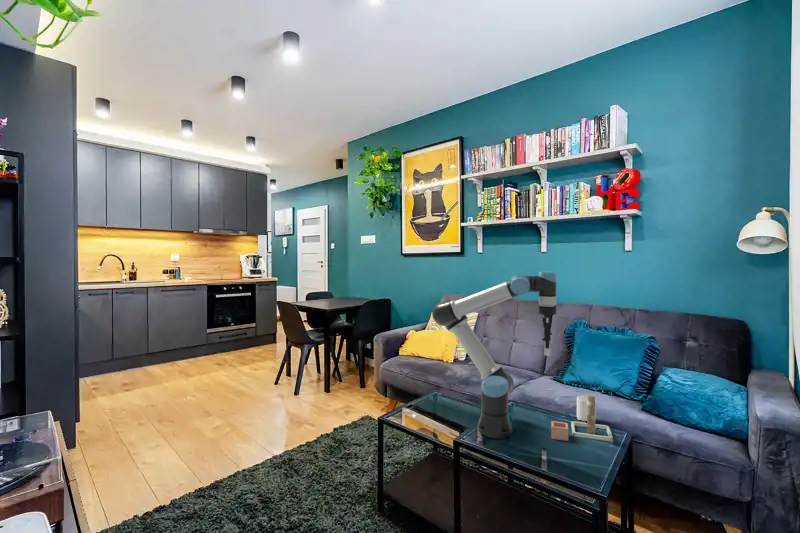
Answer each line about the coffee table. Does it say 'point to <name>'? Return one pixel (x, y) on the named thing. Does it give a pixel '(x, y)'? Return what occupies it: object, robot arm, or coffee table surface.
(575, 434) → the tray
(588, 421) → the pin
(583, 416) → the cup
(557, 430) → the holder
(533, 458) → the coffee table surface
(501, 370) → the robot arm
